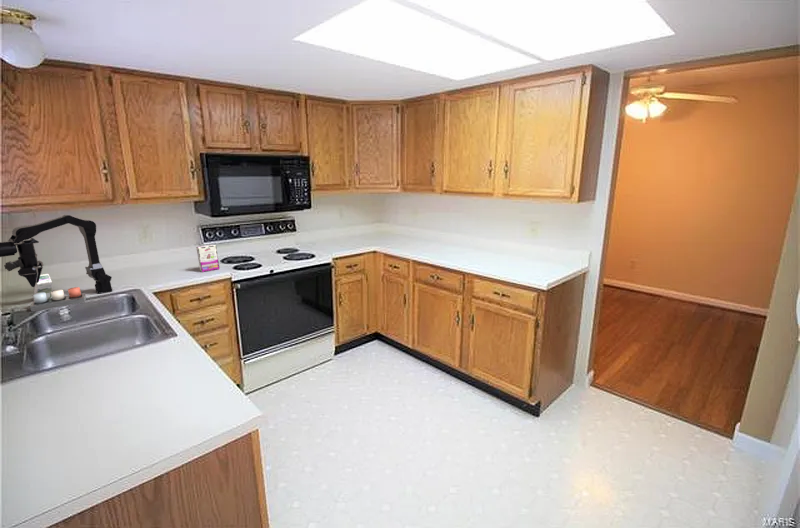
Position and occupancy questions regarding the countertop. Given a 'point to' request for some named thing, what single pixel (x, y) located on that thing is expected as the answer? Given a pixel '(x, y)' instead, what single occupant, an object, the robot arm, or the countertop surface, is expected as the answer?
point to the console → (58, 302)
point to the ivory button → (57, 295)
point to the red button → (74, 292)
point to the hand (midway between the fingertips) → (35, 284)
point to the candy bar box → (208, 258)
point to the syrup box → (44, 285)
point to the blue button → (40, 297)
